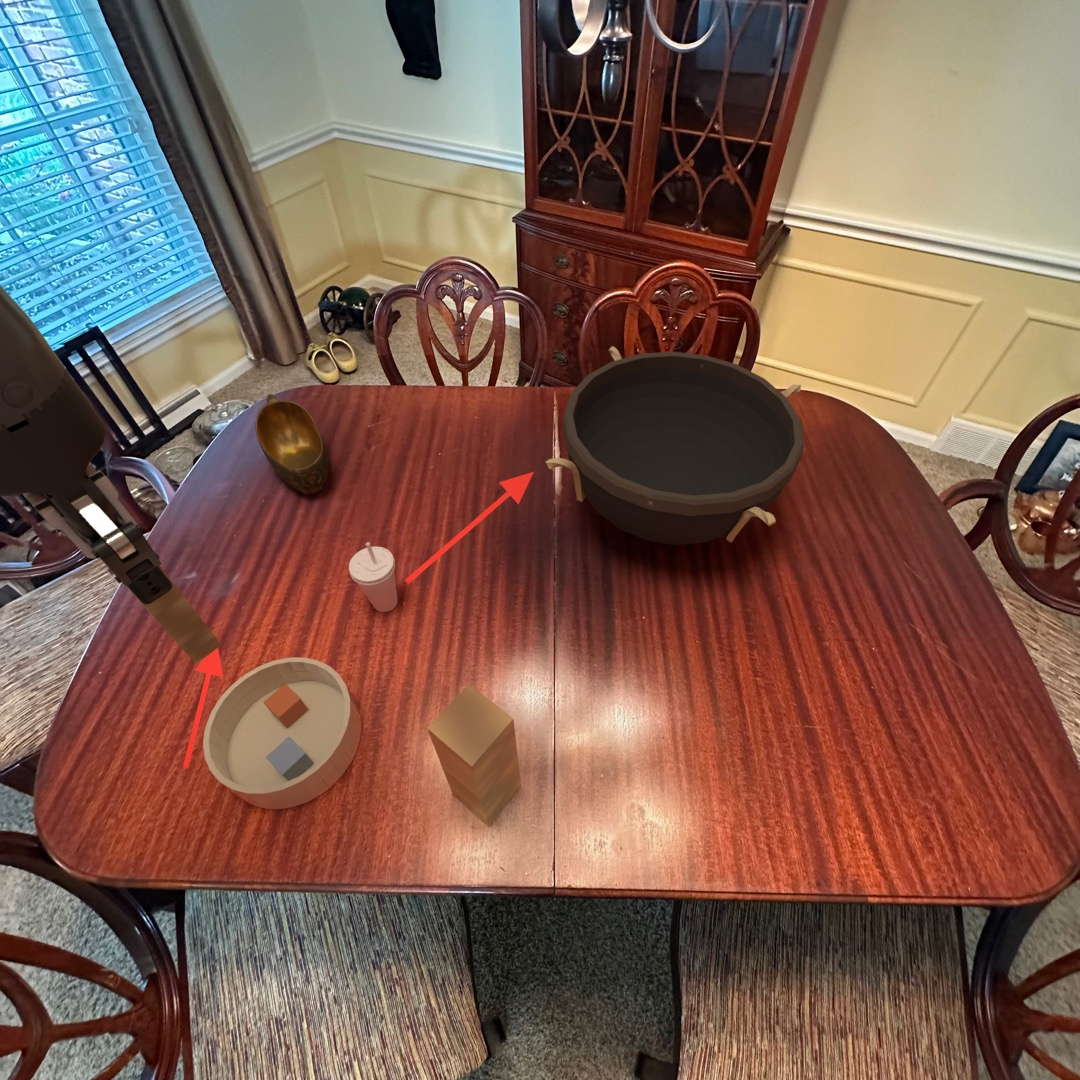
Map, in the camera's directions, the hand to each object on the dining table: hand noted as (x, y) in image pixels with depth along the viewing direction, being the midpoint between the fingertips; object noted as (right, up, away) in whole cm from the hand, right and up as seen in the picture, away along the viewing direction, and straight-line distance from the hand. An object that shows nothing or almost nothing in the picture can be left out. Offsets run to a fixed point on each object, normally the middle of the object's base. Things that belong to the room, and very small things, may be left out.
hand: (147, 583), depth 44 cm
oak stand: (+22, -28, +30) cm, 46 cm away
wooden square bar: (0, -6, +7) cm, 9 cm away
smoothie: (+5, -6, +48) cm, 49 cm away
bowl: (+50, +8, +60) cm, 78 cm away
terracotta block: (-4, -20, +36) cm, 41 cm away
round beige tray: (-3, -23, +34) cm, 41 cm away
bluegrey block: (-2, -25, +31) cm, 40 cm away
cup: (-15, +17, +68) cm, 72 cm away
